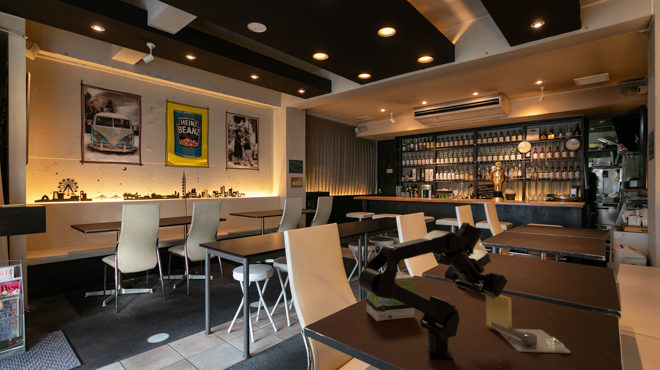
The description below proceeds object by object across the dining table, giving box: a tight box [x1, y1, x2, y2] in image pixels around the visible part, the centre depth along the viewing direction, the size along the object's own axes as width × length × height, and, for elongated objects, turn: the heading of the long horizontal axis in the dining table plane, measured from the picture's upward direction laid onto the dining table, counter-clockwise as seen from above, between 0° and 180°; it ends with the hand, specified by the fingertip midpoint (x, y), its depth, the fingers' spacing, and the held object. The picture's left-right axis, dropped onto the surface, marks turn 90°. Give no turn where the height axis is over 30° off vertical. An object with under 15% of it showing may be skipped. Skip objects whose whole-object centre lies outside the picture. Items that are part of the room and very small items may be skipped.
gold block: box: [485, 294, 537, 345], centre depth 101 cm, size 16×4×11 cm, turn 25°
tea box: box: [366, 271, 416, 322], centre depth 119 cm, size 15×10×15 cm, turn 106°
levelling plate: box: [496, 328, 571, 354], centre depth 98 cm, size 14×14×3 cm
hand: (487, 295), depth 100 cm, fingers open, 5 cm apart
